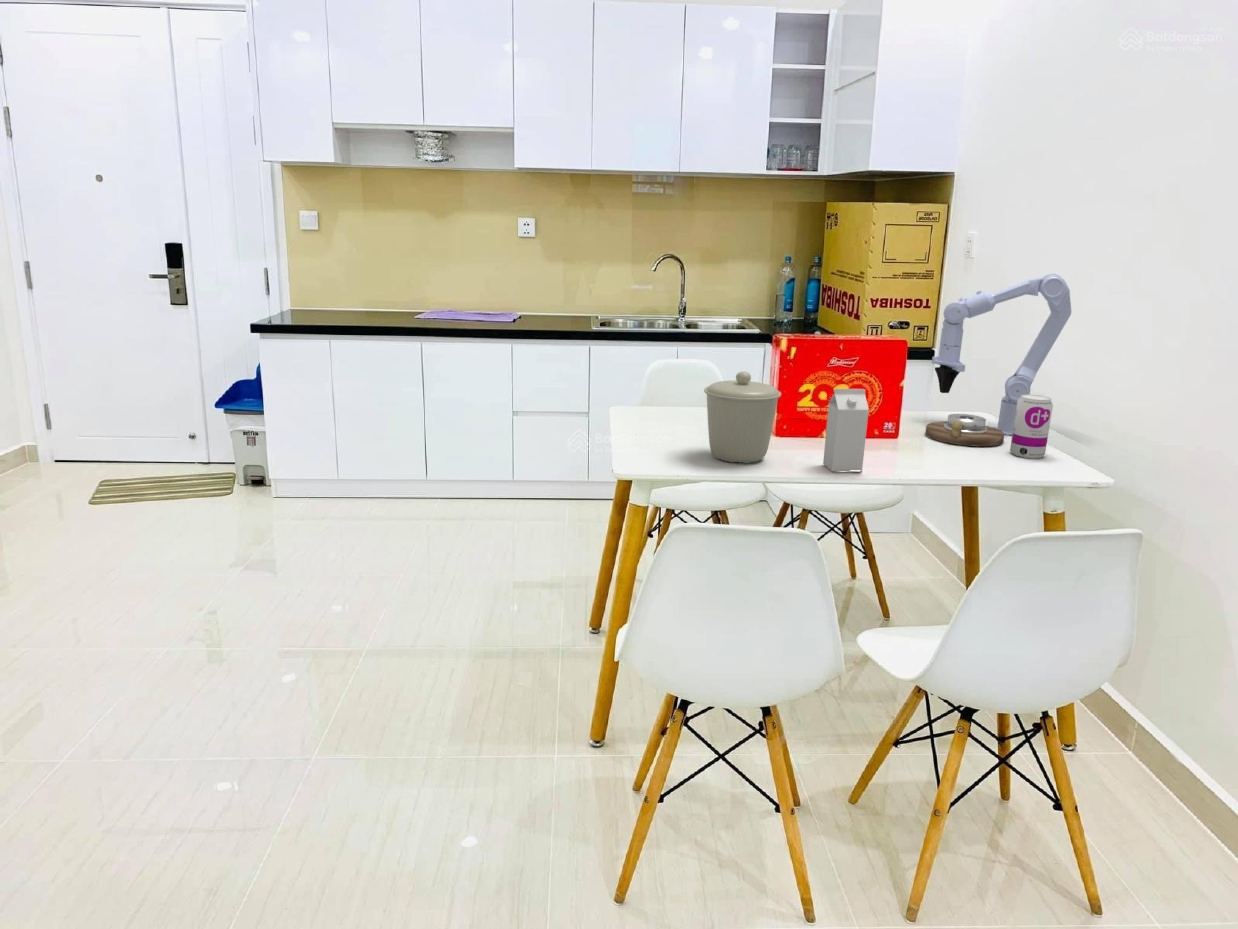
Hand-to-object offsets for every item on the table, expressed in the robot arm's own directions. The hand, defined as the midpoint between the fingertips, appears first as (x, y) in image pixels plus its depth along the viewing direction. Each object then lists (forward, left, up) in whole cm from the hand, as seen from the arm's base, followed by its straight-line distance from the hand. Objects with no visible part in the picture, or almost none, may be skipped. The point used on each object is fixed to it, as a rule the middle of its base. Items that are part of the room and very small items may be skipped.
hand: (944, 392), depth 260 cm
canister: (+71, +32, -10) cm, 78 cm away
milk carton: (+49, +43, -10) cm, 66 cm away
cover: (+2, +16, -7) cm, 18 cm away
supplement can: (-5, +34, -10) cm, 36 cm away
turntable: (+2, +16, -9) cm, 19 cm away
